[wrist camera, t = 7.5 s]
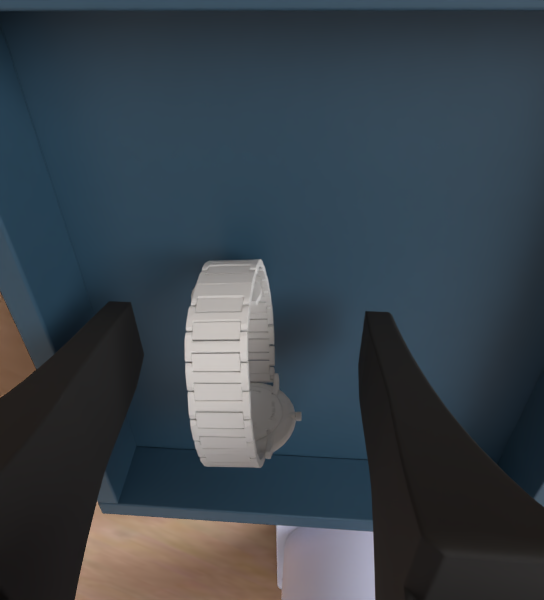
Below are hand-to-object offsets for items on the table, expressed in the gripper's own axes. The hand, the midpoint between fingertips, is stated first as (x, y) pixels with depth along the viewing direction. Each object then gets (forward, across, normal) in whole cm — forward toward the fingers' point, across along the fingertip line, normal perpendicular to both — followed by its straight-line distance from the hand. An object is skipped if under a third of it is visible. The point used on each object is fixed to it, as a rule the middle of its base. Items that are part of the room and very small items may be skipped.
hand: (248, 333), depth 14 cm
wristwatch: (+2, 0, 0) cm, 2 cm away
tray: (+2, -2, 0) cm, 3 cm away
